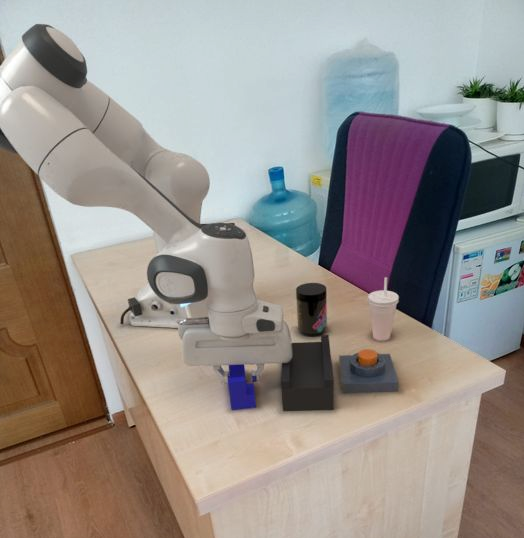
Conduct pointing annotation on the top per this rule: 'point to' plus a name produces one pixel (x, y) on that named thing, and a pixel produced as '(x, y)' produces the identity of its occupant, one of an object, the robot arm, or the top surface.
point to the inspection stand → (308, 377)
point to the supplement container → (311, 309)
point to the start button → (367, 357)
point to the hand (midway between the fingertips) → (241, 381)
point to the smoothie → (382, 312)
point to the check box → (367, 375)
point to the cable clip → (240, 389)
